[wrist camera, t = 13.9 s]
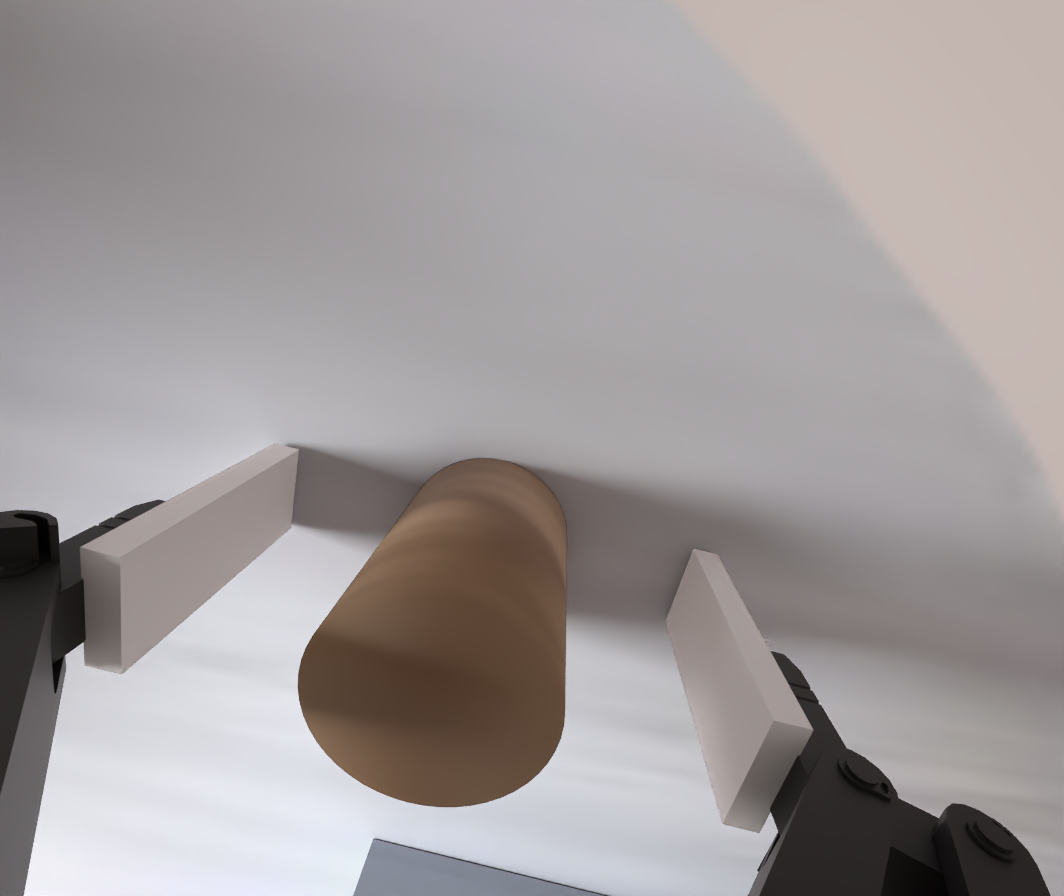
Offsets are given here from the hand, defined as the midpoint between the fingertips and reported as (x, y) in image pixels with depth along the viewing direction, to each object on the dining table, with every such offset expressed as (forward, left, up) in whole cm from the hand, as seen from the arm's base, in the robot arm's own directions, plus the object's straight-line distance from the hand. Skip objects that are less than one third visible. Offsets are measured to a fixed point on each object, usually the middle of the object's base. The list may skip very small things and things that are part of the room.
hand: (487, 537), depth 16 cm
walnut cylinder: (0, 0, 0) cm, 0 cm away
